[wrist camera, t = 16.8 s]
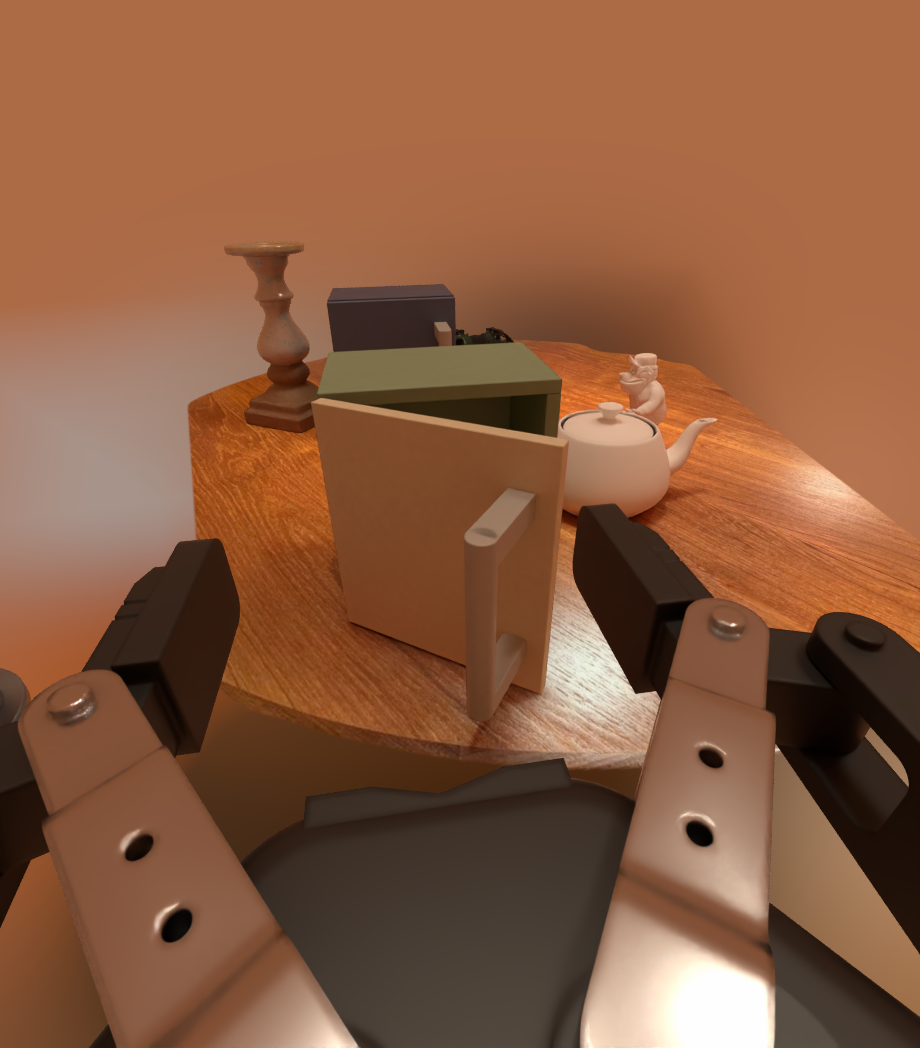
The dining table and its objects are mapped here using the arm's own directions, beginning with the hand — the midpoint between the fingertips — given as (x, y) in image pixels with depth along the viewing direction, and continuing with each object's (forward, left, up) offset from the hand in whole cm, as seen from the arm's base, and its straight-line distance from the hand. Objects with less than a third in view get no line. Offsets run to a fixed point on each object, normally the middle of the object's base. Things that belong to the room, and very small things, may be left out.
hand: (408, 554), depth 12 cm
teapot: (+22, +38, -21) cm, 49 cm away
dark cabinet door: (+1, +59, -21) cm, 62 cm away
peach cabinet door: (0, +16, -21) cm, 26 cm away
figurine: (+31, +51, -21) cm, 63 cm away
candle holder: (-15, +72, -21) cm, 76 cm away
